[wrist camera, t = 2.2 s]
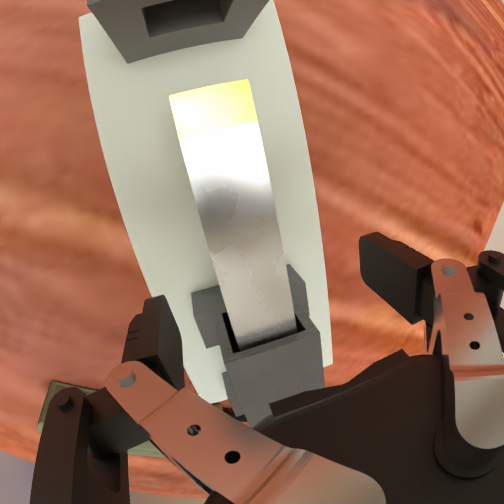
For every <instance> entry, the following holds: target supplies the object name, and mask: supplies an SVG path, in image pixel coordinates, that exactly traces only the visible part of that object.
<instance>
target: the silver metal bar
mask: <svg viewBox="0 0 504 504" xmlns="http://www.w3.org/2000/svg"><path fill="white" fill-rule="evenodd" d="M169 98H170V102H171V107H172V111H173V115H174V119H175V124H176V128H177V132H178V136H179V140H180V144H181V148H182V152H183V156H184V160H185V164H186V168H187V172H188V176H189V180H190V183H191V187H192V191H193V195H194V198H195V202H196V206H197V210H198V213H199V217H200V220H201V224H202V228H203V231H204V235H205V238H206V242H207V245H208V249H209V252H210V256H211V259H212V263H213V266H214V269H215V273H216V276H217V279H218V283H219V286H220V289H221V293H222V296H223V299H224V303H225V306H226V309H227V312H228V315H229V319H230V322H231V325H232V328H233V331H234V334H235V337H236V341H237V344H238V347H239V350H240V352H241V351H244V350H247V349H251V348H254V347H257V346H260V345H263V344H266V343H269V342H272V341H275V340H278V339H281V338H284V337H287V336H290V335H293V334H296V333H297V327H296V321H295V315H294V309H293V303H292V297H291V291H290V285H289V279H288V274H287V268H286V262H285V257H284V251H283V246H282V240H281V235H280V230H279V224H278V219H277V214H276V209H275V203H274V198H273V193H272V188H271V183H270V178H269V173H268V168H267V164H266V159H265V154H264V149H263V144H262V140H261V135H260V130H259V126H258V121H257V116H256V112H255V107H254V103H253V99H252V94H251V90H250V85H249V81H248V79H245V80H239V81H234V82H228V83H223V84H218V85H213V86H208V87H204V88H199V89H195V90H191V91H187V92H183V93H179V94H175V95H171V96H169Z"/></svg>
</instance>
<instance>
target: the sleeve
mask: <svg viewBox="0 0 504 504" xmlns="http://www.w3.org/2000/svg"><path fill="white" fill-rule="evenodd" d="M286 268H287V274H288V279H289V285H290V291H291V297H292V303H293V309H294V315H295V321H296V327H297V333H296V334H293V335H290V336H287V337H284V338H281V339H278V340H275V341H272V342H269V343H266V344H263V345H260V346H257V347H254V348H251V349H247V350H244V351H241V352H240V350H239V347H238V344H237V341H236V337H235V334H234V331H233V328H232V325H231V322H230V319H229V315H228V312H227V309H226V306H225V303H224V299H223V296H222V293H221V289H220V286H219V285H217V286H214V287H210V288H207V289H203V290H200V291H196V292H193V293H191V298H192V307H193V316H194V319H195V321H196V324H197V327H198V329H199V332H200V334H201V337H202V339H203V342H204V344H205V347H206V349H207V348H210V347H214V346H218V345H220V349H221V353H222V357H223V362H224V365H225V368H226V370H227V371H226V372H223V373H222V377H223V381H224V385H225V390H226V394H227V398H228V400H229V402H230V405H231V407H232V409H233V411H234V413H235V415H236V417H237V416H241V415H244V414H245V416H246V419H247V421H248V423H249V426H250V428H252V427H254V426H255V425H256V424H257V423H258V422H260V421H261V420H262V419H264V418H265V417H267V416H269V415H271V414H272V412H271V409H270V406H269V403H272V402H275V401H278V400H281V399H284V398H287V397H290V396H293V395H296V394H299V393H301V392H304V391H309V390H315V389H321V388H325V384H324V370H323V358H322V347H321V337H320V332H319V330H318V329H317V327H316V326H315V325H314V323H313V322H312V320H311V319H310V318H309V316H310V313H309V306H308V298H307V291H306V284H305V281H304V280H303V279H302V278H301V277H300V275H299V274H298V273H297V272H296V271H295V270H294V268H293V267H292V266H291V265H290V264H287V265H286Z"/></svg>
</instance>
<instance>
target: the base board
mask: <svg viewBox="0 0 504 504" xmlns="http://www.w3.org/2000/svg"><path fill="white" fill-rule="evenodd" d="M79 26H80V35H81V43H82V50H83V57H84V64H85V70H86V76H87V82H88V87H89V93H90V98H91V103H92V107H93V112H94V117H95V121H96V126H97V130H98V134H99V138H100V142H101V146H102V150H103V154H104V158H105V161H106V165H107V169H108V172H109V176H110V179H111V183H112V186H113V189H114V193H115V196H116V199H117V202H118V206H119V209H120V212H121V215H122V218H123V221H124V224H125V227H126V230H127V233H128V235H129V238H130V241H131V244H132V247H133V249H134V252H135V255H136V258H137V260H138V263H139V265H140V268H141V271H142V273H143V276H144V278H145V281H146V283H147V286H148V288H149V291H150V293H151V296H152V297H155V296H159V295H163V294H164V295H165V297H166V299H167V301H168V304H169V306H170V309H171V311H172V314H173V316H174V318H175V321H176V323H177V325H178V328H179V331H180V334H181V338H182V349H183V366H184V368H185V370H186V372H187V374H188V376H189V378H190V380H191V381H192V383H193V385H194V387H195V389H196V391H197V393H198V395H199V396H200V397H201V398H203V399H204V400H206V401H207V402H209V403H210V404H212V403H216V402H219V401H223V400H227V399H228V398H227V394H226V390H225V385H224V381H223V377H222V373H223V372H226V371H227V370H226V368H225V365H224V362H223V357H222V353H221V349H220V345H218V346H214V347H210V348H207V349H206V347H205V344H204V342H203V339H202V337H201V334H200V332H199V329H198V327H197V324H196V321H195V319H194V316H193V307H192V298H191V293H193V292H196V291H200V290H203V289H207V288H210V287H214V286H217V285H219V283H218V279H217V276H216V273H215V269H214V266H213V263H212V259H211V256H210V252H209V249H208V245H207V242H206V238H205V235H204V231H203V228H202V224H201V220H200V217H199V213H198V210H197V206H196V202H195V198H194V195H193V191H192V187H191V183H190V180H189V176H188V172H187V168H186V164H185V160H184V156H183V152H182V148H181V144H180V140H179V136H178V132H177V128H176V124H175V119H174V115H173V111H172V107H171V102H170V98H169V96H171V95H175V94H179V93H183V92H187V91H191V90H195V89H199V88H204V87H208V86H213V85H218V84H223V83H228V82H234V81H239V80H245V79H248V81H249V85H250V90H251V94H252V99H253V103H254V107H255V112H256V116H257V121H258V126H259V130H260V135H261V140H262V144H263V149H264V154H265V159H266V164H267V168H268V173H269V178H270V183H271V188H272V193H273V198H274V203H275V209H276V214H277V219H278V224H279V230H280V235H281V240H282V246H283V251H284V257H285V262H286V265H287V264H290V265H291V266H292V267H293V268H294V270H295V271H296V272H297V273H298V274H299V275H300V277H301V278H302V279H303V280H304V281H305V284H306V291H307V298H308V306H309V313H310V316H309V318H310V319H311V320H312V322H313V323H314V325H315V326H316V327H317V329H318V330H319V332H320V337H321V347H322V358H323V367H326V366H328V365H331V364H333V359H332V342H331V327H330V314H329V303H328V292H327V281H326V272H325V263H324V254H323V245H322V237H321V230H320V222H319V215H318V208H317V201H316V194H315V188H314V181H313V175H312V169H311V163H310V158H309V152H308V146H307V141H306V135H305V130H304V125H303V120H302V115H301V110H300V105H299V101H298V96H297V91H296V87H295V82H294V78H293V74H292V69H291V65H290V61H289V57H288V53H287V49H286V45H285V41H284V37H283V33H282V29H281V26H280V22H279V18H278V15H277V11H276V8H275V4H274V1H273V0H269V2H268V3H267V4H266V6H265V7H264V8H263V10H262V11H261V12H260V14H259V15H258V17H257V18H256V19H255V21H254V22H253V24H252V25H251V27H250V28H249V29H248V31H247V32H246V34H245V35H244V37H243V38H241V39H233V40H226V41H220V42H214V43H209V44H203V45H198V46H193V47H189V48H184V49H180V50H175V51H171V52H167V53H163V54H160V55H156V56H152V57H149V58H145V59H142V60H139V61H135V62H132V63H129V64H127V62H126V61H125V59H124V58H123V56H122V55H121V54H120V52H119V51H118V49H117V48H116V46H115V45H114V43H113V42H112V41H111V39H110V38H109V36H108V35H107V33H106V32H105V30H104V29H103V27H102V26H101V25H100V23H99V22H98V20H97V19H96V17H95V16H94V14H93V13H92V12H91V13H88V14H86V15H83V16H81V17H79Z"/></svg>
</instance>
